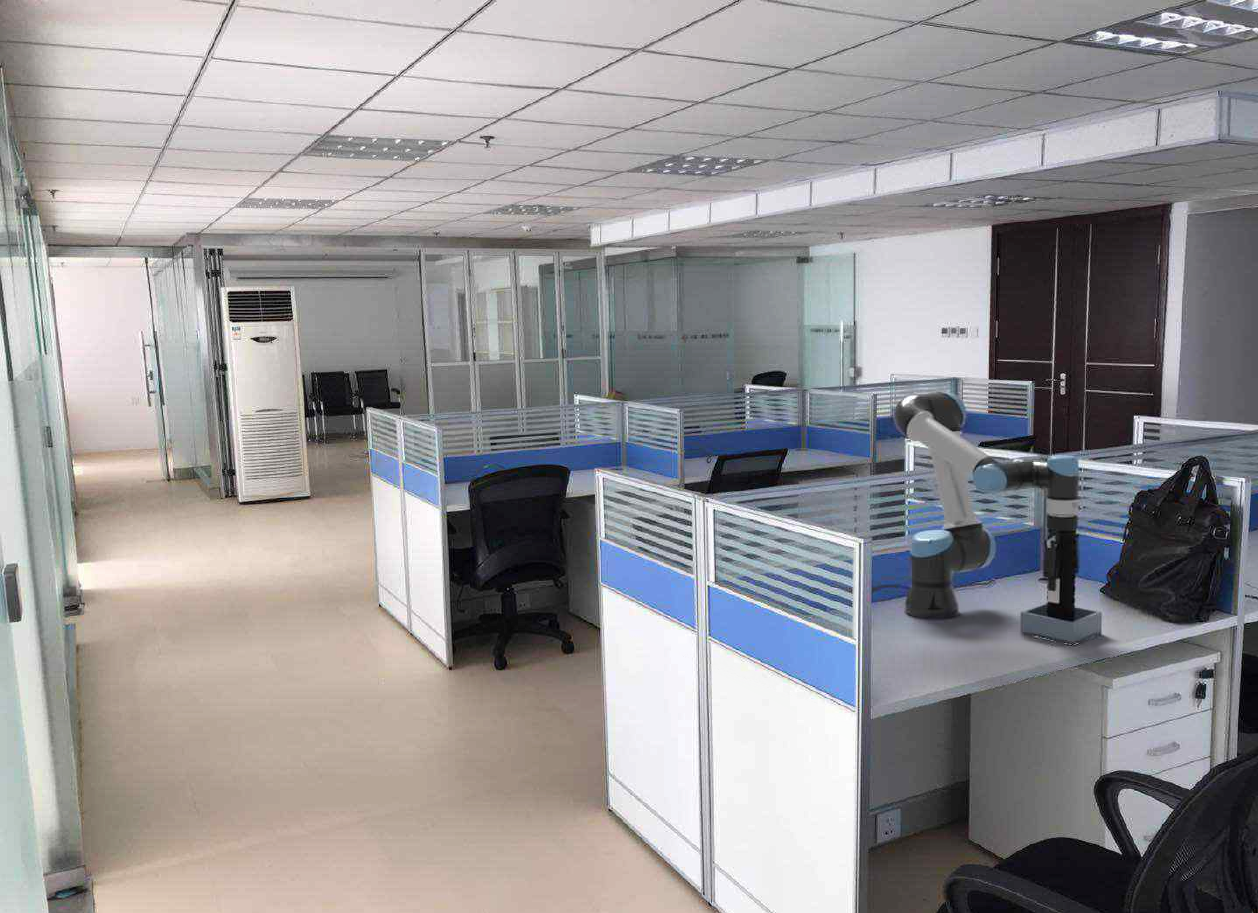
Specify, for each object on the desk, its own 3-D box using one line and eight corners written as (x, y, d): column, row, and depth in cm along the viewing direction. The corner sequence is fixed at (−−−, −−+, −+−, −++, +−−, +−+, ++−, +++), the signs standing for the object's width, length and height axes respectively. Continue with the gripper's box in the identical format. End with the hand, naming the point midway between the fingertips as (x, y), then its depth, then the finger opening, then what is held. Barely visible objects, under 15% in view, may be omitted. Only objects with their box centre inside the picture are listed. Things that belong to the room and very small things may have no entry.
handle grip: (1044, 629, 254) (1085, 629, 252) (1046, 530, 251) (1087, 530, 249) (1036, 618, 264) (1076, 618, 262) (1037, 522, 261) (1077, 522, 259)
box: (1020, 633, 260) (1020, 612, 259) (1048, 622, 269) (1049, 601, 268) (1073, 646, 248) (1073, 623, 248) (1101, 633, 257) (1101, 611, 256)
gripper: (1056, 521, 246) (1055, 609, 249) (1095, 510, 258) (1093, 594, 261) (1028, 517, 252) (1027, 604, 254) (1067, 507, 264) (1066, 589, 266)
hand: (1060, 599), depth 257 cm, fingers closed on handle grip, 7 cm apart
